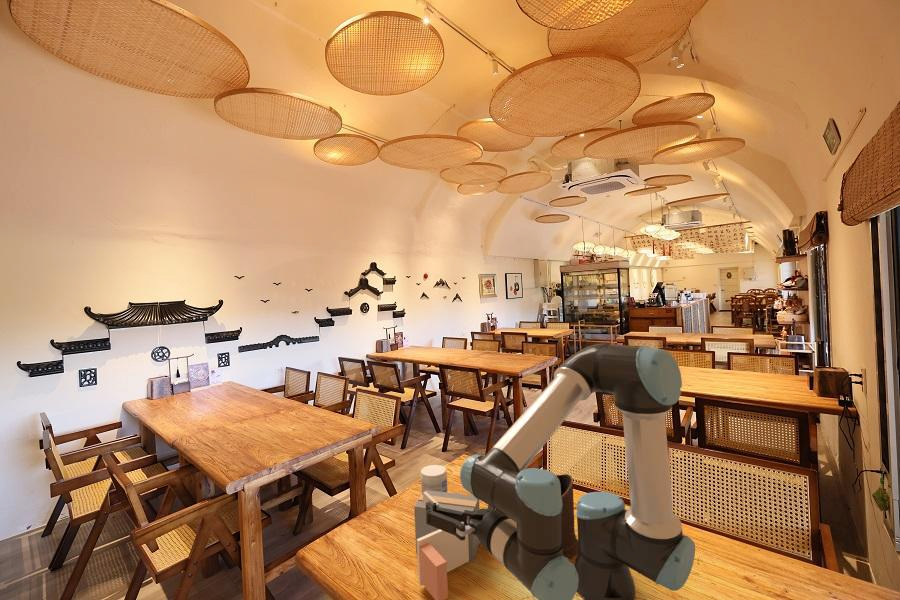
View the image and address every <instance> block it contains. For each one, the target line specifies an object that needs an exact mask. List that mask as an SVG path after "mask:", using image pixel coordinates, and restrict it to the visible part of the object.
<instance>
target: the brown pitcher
mask: <svg viewBox="0 0 900 600" xmlns="http://www.w3.org/2000/svg"><path fill="white" fill-rule="evenodd" d="M555 475H556V474H555ZM556 476H557V478H558V479H559V481H560V486H561V498H562V503H563V504H562V505H563V506H562V543H563V556H564V557H566V558H568V559H569V561H570V562H571V561H572V560H574V559H576V558H577V555H578V551H579V550H578V537H577V536H576V533H575V530H576V529H575V507H574V505H575V504H574V480H573V479H574V478H573V477H572V475H570V474H568V473H567V474H557V475H556Z"/></svg>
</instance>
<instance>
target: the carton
mask: <svg viewBox="0 0 900 600" xmlns="http://www.w3.org/2000/svg"><path fill="white" fill-rule="evenodd" d="M425 492H427V493H428V494H429V495H430V496H431V497H432V498H433V499H434V500H435V501H436V502H437V503H439V507H442V508H447V509H451V510H456V511H461V512H464V510H468V511H477V510H480V509H481V508H480V499H476V498H475V497H474V496H473V495H472V494H463V493H454V492H448V491H447V492H448V493H447V492H439V491H430V490H425ZM413 508H414V510H413V511H414V512H413V513H414V531H415V533H414V534H415V535H414V536H415V552H416V553H417V539H419V538H421V537H423V536H425V535H428V534H430V533H432V532H435V531H437V530H439V529H438V528H435V527H433V526H430V525H428V524H426V507H425V506H424V505H423V495H422V493H421V494H420V496H419V497H418V498H417V502H416V503H415V505H414V507H413ZM467 520H468V525H469V516H467ZM480 544H481V543H480V541H479V539H478V537H477V536H476V535H474V534H471V533H469V534H468V546H469V561H468V562H473V563H474V562H475V559H476V556H477V553H478V550H479V547H480Z"/></svg>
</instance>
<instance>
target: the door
mask: <svg viewBox="0 0 900 600" xmlns="http://www.w3.org/2000/svg"><path fill="white" fill-rule="evenodd" d="M467 524H468V520H467ZM416 554H417V576H418V579H417V580H418V586H420V587H422V586H424V588H425V589H426V591H428V594H429V595H430V596H431V597H432V598H433V600H446V599H448V598H449V587H448V573H449V572H451V571H452V570H455V569H456V568H458V567H460V566H462V565H464V564H466V563H468V562H470V561H469V546H468V534H467V535H465V540H460V539H458V538H457V537H456V536H455V535H452V534H450V533H447V532H445V531H443V530H440V529H439V530H437V531H435V532H432V533H430V534H428V535H425V536H423V537H421V538H419V539H417V552H416Z"/></svg>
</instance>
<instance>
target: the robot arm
mask: <svg viewBox="0 0 900 600" xmlns="http://www.w3.org/2000/svg"><path fill="white" fill-rule="evenodd" d="M680 369H681V368H680V366H679V364H678V361H677V360H676V358H675V357H674V356H673V355H672V354H671V353H670V352H669V351H668V350H666V349H663V348H662V349H661V348H657V347H651V346H648V345H644V346H643V345H628V344H627V345H626V344H625V345H624V344H611V343H597V344H593V345H589V346H587V347H584V348H583V349H581V350H579V351H577V352H576V353H574V354H572V355H571V356H569V357H567V359H565V361H563V362H562V363H561V364H560V365H559V366H558V368H556V370H555V371H554V373H553V379H552V381H551V382H550V383H549V384H548V385H547V386H546V387H545V388H544V389H543V391H542V392H541V393H540V394H539V395H538V396H537V397H536V398H535V400H534V401H533V402H532V403H531V404H530V405H529V406H528V407H527V408H526V410H525V411H524V412H523V413H522V414H521V415H520V416H519V417H518V418H517V420H516V421H515V422H514V423H513V424H512V425H511V426H510V427H509V428H508V430H507V431H505V433H504V434H502V436H501V438H499V440H498V441H497V442H496V443H495V444H494V445H493V446H492V447H491V449H490V450H489V451H488V452H487V453H486V454H485V455H483V454H477V453H476V454H473V455H470V456H469V457H467V458H466V459H465V460H464V461H463V463H462V465H461V468H460V473H459V479H460V483H461V486H462V488H463V489H464V490H465V491H467V493H469V495H473V496H474V497H475V498H476V499H479V501H481V502H484V503H485V504H486V505H487V508H485V507H482V508H480V510H477V511H468V510H464V512H461V511H456V510H451V509H447V508H442V507H439V503H437V502H436V501H435V500H434V499H433V498H432V497H431V496H430V495H429V494H428V493H427V492H423V505H424V506H425V507H426V524H428V525H430V526H433V527H435V528H438V529H440V530H443V531H445V532H447V533H450V534H452V535H455V536H456V537H457V538H458V539H460V540H465V535H467V534H469V533H471V534H474V535H476V536H477V537H478V539H479V541H480V544H481V546H482V547H483V548H484V549H485V550H486V551H488V553H489V554H490V555H491V556H493V557H494V558H495V559H496V560H497V561H498V562H499V563H500V564H502V566H503V567H504V568H505V569H506V570H508V572H510V573H511V574H512V575H513V576H514V577H515V578H516V579H517V580H518V581H519V582H520V583H521V584H522V585H523V586H524V587H525V588H526V589H527V590H528V592H529V593H531V595H532V597H533V598H536V599H537V600H573V599H574V598H575V596H576V595H577V594H576V593H578V595H580V596H581V598H583V599H584V600H585V599H586V600H635V597H636V586H635V581H634V577H633V576H632V573H631V570H633V571H634V572H636V573H638V574H639V575H642V576H643V577H645V578H647V579H648V580H650V581H652V582H653V583H655V584H656V585H660V586H662V587H664V588H666V589H668V590H670V591H674V592H675V591H679V590H680V589H682V588H683V587H684V586H685V584H686V583H687V581H688V579H689V576H690V574H691V572H692V569H693V566H694V562H695V557H696V555H695V554H696V544H695V542H694V540H693V539H692V538H691V537H690V536H689V535H684V534H683V526H682V525H683V524H682V521H681V520H680V518H679V517H678V516H677V515H676V514H675V513H674V511H673V510H674V508H673V498H672V497H673V496H672V486H671V485H672V483H671V473H670V461H669V459H670V458H669V450H668V449H669V448H668V439H667V438H668V437H667V426H666V416H665V415H667V414H668V413H669V412H671V411H672V409H673V405H675V404H676V403H677V402H678V401H679V400H680V397H681V395H682V390H681V388H683V386H682V385H683V380H682V373H681V370H680ZM597 392H598V393H599V392H604V393H607V394H612V395H613V401H614V402H613V403H614V407H615V408H616V409H617V410H618V411H620V413H621V414H622V421H623V422H622V423H623V433H624V434H623V435H624V444H625V456H626V467H627V478H628V488H629V499H630V507H629V508H628V509H626V504H625V501H624V500H623V498H622V497H621V496H619V495H617V494H616V493H615V494H614V493H611V492H608V491H607V492H606V491H593V492H587V493H585V494H583V495H581V496H580V497H579V498H578V500H577V503H576V505H577V506H576V513H575V515H576V523H577V524H576V525H577V526H576V527H577V540H578V550H579V551H578V555H577V556H576V557H575V561H574V563H572V562H571V560H570V561H569V559H568V558H566V557H564V556H563V543H562V506H563V505H562V504H563V503H562V498H561V486H560V481H559V479H558V478H557V476H556V474H555V473H553V472H551V471H550V470H547V469H540V468H539V467H538V468H537V467H529V468H527V467H528V466H529V465H530V464H531V462H532V461H533V460H534V458H536V456H537V455H538V453H539V452H540V451H541V450H542V449H543V448H544V446H545V445H546V444H547V442H548V441H549V440H550V439H551V437H553V435H554V434H555V432H556V431H557V430H558V429H559V427H560V426H561V425H562V423H563V422H564V421H565V419H566V420H567V418H568V416H569V415H570V413H572V411H573V410H574V409H575V407H576V406H577V405H578V404H579V403H580V401H587V400H588V399H589V398H590V397H591V395H592V394H594V393H597ZM467 516H469V525H468V524H467ZM630 569H631V570H630Z"/></svg>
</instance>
